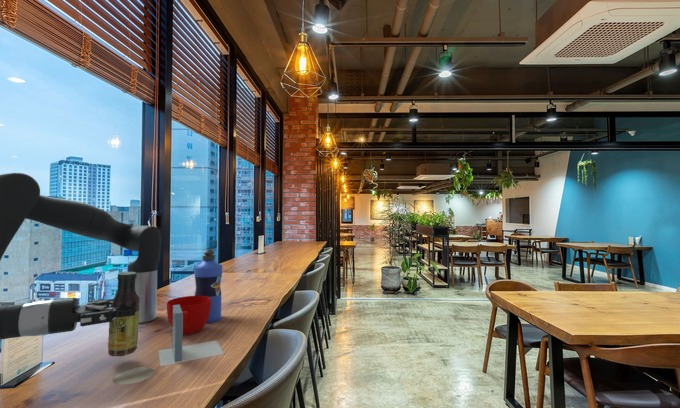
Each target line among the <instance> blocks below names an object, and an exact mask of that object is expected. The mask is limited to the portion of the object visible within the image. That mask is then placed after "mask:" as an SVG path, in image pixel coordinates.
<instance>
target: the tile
mask: <svg viewBox="0 0 680 408" xmlns="http://www.w3.org/2000/svg"><path fill="white" fill-rule="evenodd" d="M182 333H183V312H182V310H181V307H180V305H173V329H172V336H171V337H172V343H171V348H172V351H173V356H174V361H175V362H177V361H182V346H183V335H182Z"/></svg>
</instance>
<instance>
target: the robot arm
mask: <svg viewBox="0 0 680 408" xmlns="http://www.w3.org/2000/svg"><path fill="white" fill-rule="evenodd" d="M26 219H27V220H30V221H34V222H37V223H41V224H43V225H47V226H49V227H53V228H56V229H59V230H63V231H66V232H68V233H72V234H74V235H79V236H81V237H84V238H85V237H87V238H90V239H93V240H100V241H105V242H109V243H112V244H114V245H116V246H119V247H121V248H124V249H126V250H129V251H132V252H137V257H136V259H135V260H133V261H131V262H129V263H128V264H127V269H126V270H127V271H126V272H136V273H137V277H136V279H135V291H136V294H137V295H138V297H139V324H142V323H143V324H144V323H148V322H150V321H151V322H152V321H153V320H155V319H157V301H158V266H159V263H160V261H161V249H162V234H161V232H160V229H158V227H156V226H154V225H135V224H134V225H133V224H128V223H125V222H121V221H118V220H116V219H114V217H113V216H112V215H111V214H109V213H108V212H107V211H105V210H103V209H101V208H100V207H96V206H94V205H92V204H88V203H85V202H81V201H78V200H72V199H65V198H57V197H51V196H46V195H42V194H41V188H40V184H39V183H38V181H37V180H36V179H35V178H34V177H33V176H31V175H29V174H27V173H23V172H8V173H2V174H0V261H1V260H2V258H3V256H4V255H5V253H6V250H7V248H8V247H9V245H10V243H11V242H12V240H13V239H14V237H15V236H16V234H17V233H18V232H19V231H18V230H20V227H22V225H23V223H24V221H25V220H26ZM113 300H114V298H110V299H94V300H89V301H88V302H86V304H82V305H79V301H78V298H77V297H69V298H59V299H47V300H37V301H34V302H30V303H28V302H27V303H20V304H9V305H2V306H0V341H2V340H7V339H16V338H21V337H24V338H25V337H37V336H45V335H54V334H61V333H68V332H74V331H75V330H76V327H77V325H78V323H80V325H79V326H80V327H87V326H93V325H99V324H106V323H109V322H112V321H113V320H114V319H116V318H118V317H126V316H133V315H135V306H128V307H119V308H110V307H111V305H112V302H113Z"/></svg>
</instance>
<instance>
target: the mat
mask: <svg viewBox="0 0 680 408" xmlns="http://www.w3.org/2000/svg"><path fill="white" fill-rule="evenodd" d="M220 355H225V353H224V351H223V350H222V348H221V345H220V344H219V342H218V340H212V341H206V342H204V341H203V342H200V343H195V344H194V343H193V344H187V345H182V361H177V362H175V361H174V356H173V351H172V347H170V348H166V349H165V348H164V349H160V350H159V349H158V358H159V366H160V368H161V367H165V366H170V365H176V364H180V363H186V362H192V361H195V360H200V359H206V358H210V357H215V356H220Z"/></svg>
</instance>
